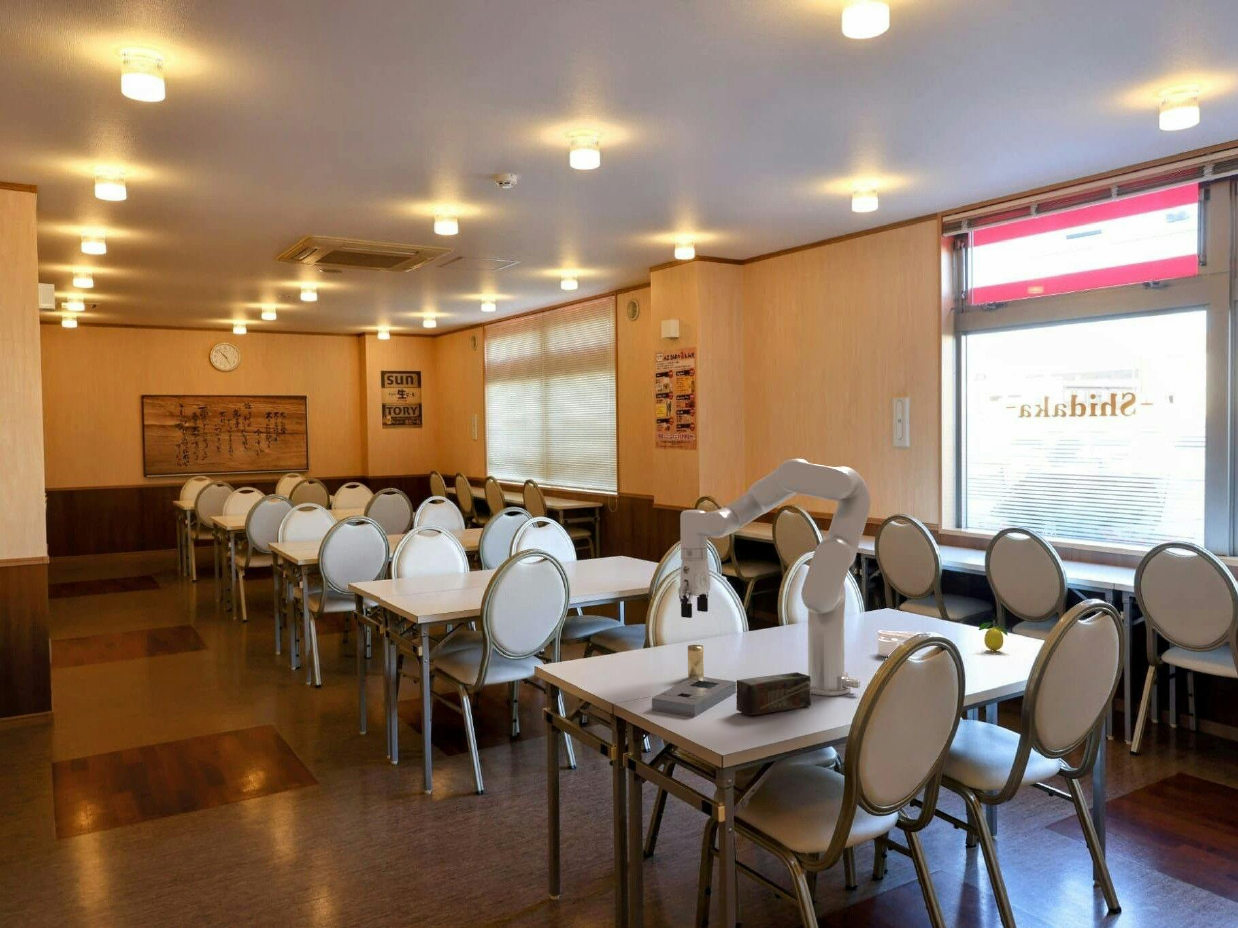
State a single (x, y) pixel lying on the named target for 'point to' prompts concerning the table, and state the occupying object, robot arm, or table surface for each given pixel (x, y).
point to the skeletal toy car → (891, 640)
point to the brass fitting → (695, 661)
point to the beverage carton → (773, 693)
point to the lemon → (993, 636)
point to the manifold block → (694, 696)
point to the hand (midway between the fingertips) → (694, 614)
